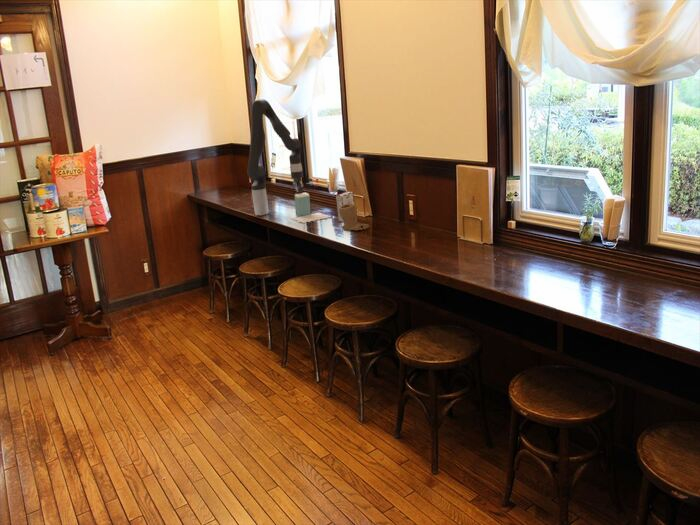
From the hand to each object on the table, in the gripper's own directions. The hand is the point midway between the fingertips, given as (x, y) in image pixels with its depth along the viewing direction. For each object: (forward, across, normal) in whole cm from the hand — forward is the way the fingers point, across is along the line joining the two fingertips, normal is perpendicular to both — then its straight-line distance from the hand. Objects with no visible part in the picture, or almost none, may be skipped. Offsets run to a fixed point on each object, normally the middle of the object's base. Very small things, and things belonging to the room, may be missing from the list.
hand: (299, 197), depth 401 cm
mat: (+12, +14, 0) cm, 19 cm away
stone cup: (+12, +61, +2) cm, 62 cm away
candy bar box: (+12, +37, +12) cm, 41 cm away
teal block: (+11, +3, 0) cm, 12 cm away
